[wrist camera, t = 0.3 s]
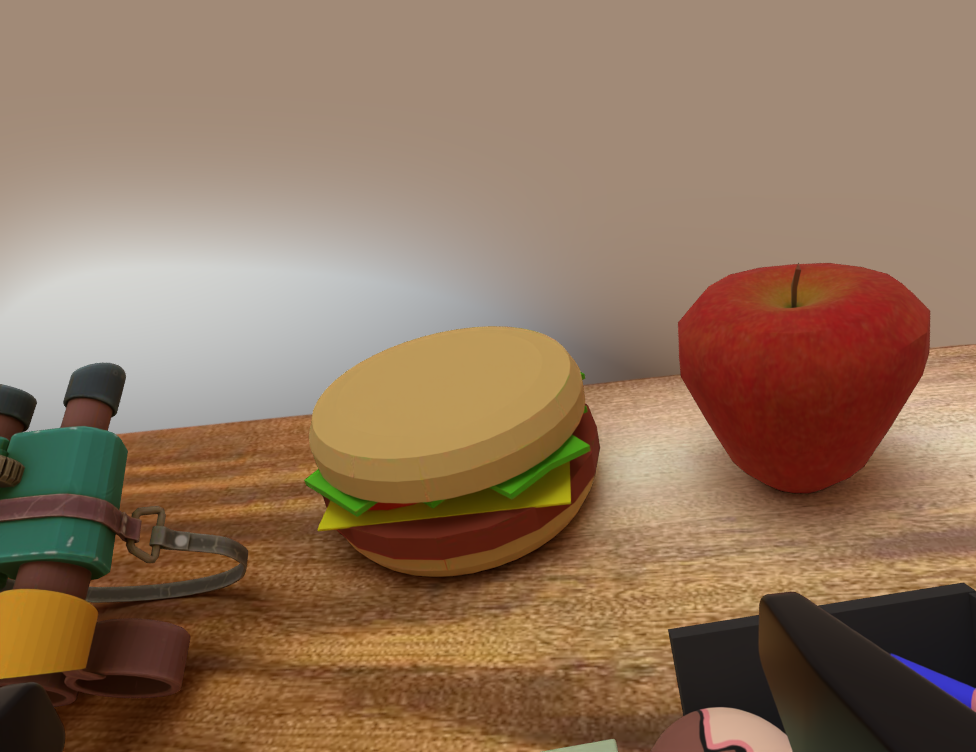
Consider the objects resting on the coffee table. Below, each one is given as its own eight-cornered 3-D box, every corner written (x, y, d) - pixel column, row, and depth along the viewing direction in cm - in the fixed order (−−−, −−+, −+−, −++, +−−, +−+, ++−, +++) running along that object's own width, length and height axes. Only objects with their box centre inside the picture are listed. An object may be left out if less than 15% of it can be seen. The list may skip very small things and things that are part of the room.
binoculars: (25, 733, 37) (-299, 698, 25) (90, 487, 44) (-135, 363, 32) (273, 711, 35) (56, 661, 22) (297, 457, 42) (145, 312, 30)
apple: (925, 433, 39) (944, 220, 33) (905, 564, 31) (925, 315, 26) (721, 410, 45) (709, 227, 39) (663, 514, 37) (639, 305, 32)
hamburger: (301, 606, 37) (246, 482, 33) (372, 436, 51) (340, 337, 47) (615, 578, 34) (592, 439, 30) (597, 407, 48) (580, 300, 45)
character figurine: (1244, 930, 19) (674, 984, 20) (1053, 684, 25) (629, 739, 26) (1372, 767, 15) (650, 850, 16) (1106, 523, 21) (602, 599, 22)
